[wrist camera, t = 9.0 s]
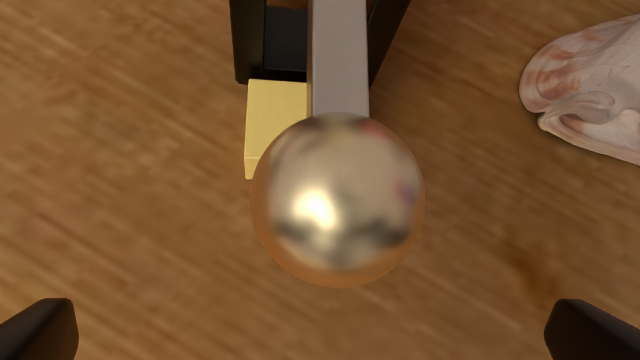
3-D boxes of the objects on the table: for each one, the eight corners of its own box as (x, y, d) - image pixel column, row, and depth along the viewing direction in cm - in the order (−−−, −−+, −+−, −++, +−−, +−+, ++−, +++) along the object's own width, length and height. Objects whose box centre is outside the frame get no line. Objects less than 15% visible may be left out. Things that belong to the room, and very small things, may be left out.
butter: (353, 184, 16) (365, 163, 14) (245, 179, 15) (243, 157, 13) (350, 113, 17) (361, 86, 15) (249, 107, 16) (248, 77, 14)
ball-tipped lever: (396, 288, 9) (467, 288, 6) (247, 288, 9) (241, 287, 6) (379, -123, 12) (420, -264, 9) (267, -139, 12) (271, -294, 8)
